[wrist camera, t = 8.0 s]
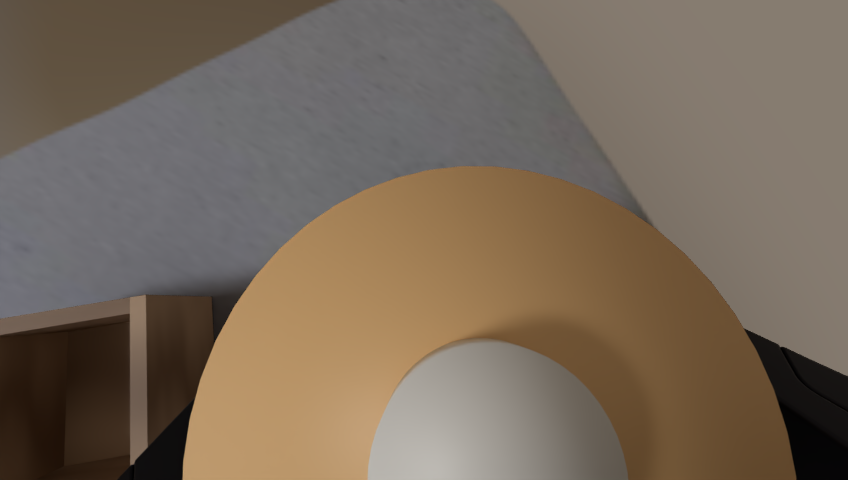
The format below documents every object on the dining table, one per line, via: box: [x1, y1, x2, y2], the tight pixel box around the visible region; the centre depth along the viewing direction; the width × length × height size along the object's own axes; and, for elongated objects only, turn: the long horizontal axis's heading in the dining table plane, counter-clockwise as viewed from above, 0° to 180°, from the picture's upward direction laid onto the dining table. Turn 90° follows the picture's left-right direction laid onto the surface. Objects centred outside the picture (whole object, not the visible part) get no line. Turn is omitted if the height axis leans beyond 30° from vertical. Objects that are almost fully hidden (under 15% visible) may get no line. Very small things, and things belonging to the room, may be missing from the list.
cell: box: [183, 166, 796, 480], centre depth 9 cm, size 5×5×14 cm
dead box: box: [0, 295, 214, 480], centre depth 14 cm, size 7×7×4 cm
